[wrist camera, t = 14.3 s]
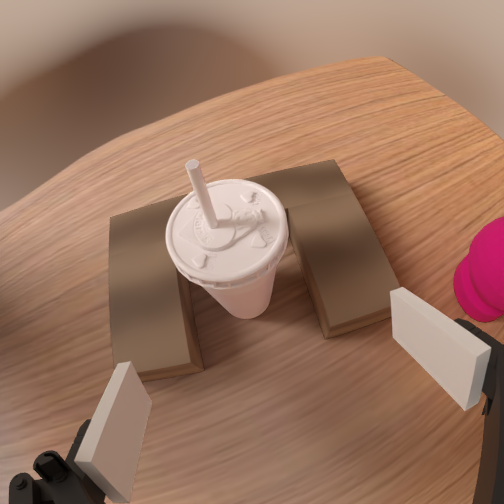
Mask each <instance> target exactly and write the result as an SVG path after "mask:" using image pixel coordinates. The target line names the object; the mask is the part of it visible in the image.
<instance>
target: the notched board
mask: <svg viewBox="0 0 504 504" xmlns="http://www.w3.org/2000/svg"><path fill="white" fill-rule="evenodd" d="M242 180H247V181H251V182H255V183H257V184H260V185H262V186H264V187H265V188H267V189H268V190H270V191H271V192H272V193H273V194H274V195H275V196H276V197H277V198H278V199H279V200H280V202H281V204H282V205H283V207H284V210H285V213H286V217H287V224H288V231H289V237H290V240H291V243H292V245H293V248H294V251H295V254H296V256H297V259H298V262H299V265H300V268H301V271H302V273H303V276H304V279H305V282H306V285H307V288H308V291H309V294H310V296H311V299H312V302H313V305H314V308H315V311H316V314H317V317H318V320H319V323H320V326H321V329H322V332H323V335H324V338H325V339H329V338H332V337H335V336H338V335H341V334H344V333H347V332H350V331H353V330H356V329H359V328H362V327H365V326H368V325H370V324H373V323H376V322H379V321H382V320H384V319H387V318H390V317H392V313H391V298H390V291H392V290H395V289H398V288H401V287H400V285H399V282H398V280H397V278H396V276H395V274H394V271H393V269H392V267H391V265H390V263H389V261H388V259H387V256H386V254H385V252H384V250H383V248H382V246H381V244H380V242H379V240H378V238H377V236H376V234H375V232H374V230H373V228H372V226H371V224H370V222H369V220H368V219H367V217H366V215H365V213H364V211H363V209H362V207H361V205H360V204H359V202H358V200H357V198H356V196H355V195H354V193H353V191H352V189H351V187H350V186H349V184H348V182H347V180H346V179H345V177H344V175H343V173H342V172H341V170H340V168H339V167H338V165H337V163H336V162H335V160H334V159H333V160H328V161H323V162H318V163H313V164H308V165H304V166H299V167H294V168H290V169H285V170H281V171H276V172H272V173H267V174H263V175H259V176H255V177H251V178H246V179H242ZM187 195H188V194H186V195H182V196H179V197H175V198H172V199H168V200H165V201H161V202H158V203H155V204H151V205H148V206H145V207H142V208H138V209H135V210H132V211H129V212H126V213H123V214H119V215H116V216H113V217H110V231H109V307H110V327H111V341H112V353H113V364H114V370H115V368H116V366H117V364H118V363H124V362H129V361H131V362H132V364H133V366H134V368H135V370H136V372H137V374H138V376H139V378H140V380H141V382H146V381H153V380H159V379H165V378H170V377H176V376H181V375H186V374H192V373H197V372H201V371H204V367H203V362H202V357H201V352H200V346H199V341H198V336H197V330H196V325H195V319H194V313H193V308H192V302H191V296H190V289H189V283H188V279H187V278H186V277H185V276H184V275H183V274H182V273H180V272H179V271H178V269H177V267H176V265H175V264H174V262H173V260H172V258H171V256H170V254H169V252H168V249H167V245H166V227H167V223H168V220H169V218H170V216H171V214H172V212H173V210H174V209H175V207H176V206H177V205H178V204H179V203H180V201H181V200H182V199H183V198H185V197H186V196H187Z"/></svg>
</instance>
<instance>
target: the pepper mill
mask: <svg viewBox="0 0 504 504" xmlns="http://www.w3.org/2000/svg"><path fill="white" fill-rule="evenodd" d="M454 290H455V294H456V297H457V300H458V302H459V304H460V306H461V307H462V308H463V310H464V311H465V313H467V314H468V315H469V316H470V317H471V318H473V319H475V320H477V321H480V322H490V321H493V320H495V319H497V318H498V317H500V316H501V315H503V314H504V217H501V218H498V219H495V220H494V221H492V222H490V223H489V224H487V225H486V226H484V227H483V229H482V230H481V231H480V232H479V233H478V234H477V235H476V236H475V237H474V239H473V241H472V243H471V246H470V249H469V254H468V255H467V256H466V257H465V258H464V259H463V260H462V261H461V263H460V264H459V265H458V267H457V268H456V271H455V274H454Z"/></svg>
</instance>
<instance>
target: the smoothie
mask: <svg viewBox="0 0 504 504" xmlns="http://www.w3.org/2000/svg"><path fill="white" fill-rule="evenodd" d="M185 166H186V169H187V172H188V175H189V178H190V180H191V183H192V186H193V188H194V191H192V192H191V193H189V194H188V195H187V196H186V197H185V198H183V199H182V200H181V201H180V203H179V204H178V205H177V206H176V207H175V209H174V210H173V212H172V214H171V216H170V218H169V220H168V223H167V227H166V245H167V249H168V252H169V254H170V256H171V258H172V260H173V262H174V264H175V265H176V267H177V269H178V271H179V272H180V273H182V274H183V275H184V276H185V277H186V278H187V279H188V280H189V281H191V282H193V283H196V284H198V285H200V286H202V287H203V288H204V289H205V290H206V291H207V292H208V293H209V294H210V295H211V296H213V297H214V298H215V299H216V300H217V301H218V302H219V303H220V304H221V305H222V306H223V307H224V308H225V309H226V310H227V311H228V312H229V313H230V314H231V315H233V316H235V317H237V318H240V319H251V318H255V317H257V316H259V315H260V314H262V313H263V312H264V311H265V310H266V309H267V307H268V305H269V303H270V299H271V294H272V289H273V284H274V279H275V274H276V269H277V264H278V263H279V262H280V260H281V258H282V256H283V254H284V252H285V250H286V248H287V242H288V236H289V231H288V224H287V217H286V213H285V210H284V207H283V205H282V204H281V202H280V200H279V199H278V198H277V197H276V196H275V195H274V194H273V193H272V192H271V191H270V190H268V189H267V188H265V187H264V186H262V185H260V184H257V183H255V182H251V181H247V180H241V179H226V180H219V181H215V182H211V183H208V184H205V180H204V177H203V174H202V171H201V168H200V165H199V162H198V161H197V160H190V161H188V162H187V163H186V165H185Z"/></svg>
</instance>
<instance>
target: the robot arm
mask: <svg viewBox="0 0 504 504" xmlns="http://www.w3.org/2000/svg"><path fill="white" fill-rule="evenodd" d="M390 298H391V313H392V333H393V338H394V339H395V340H396V341H397V342H398V343H399V344H400V345H401V346H402V347H403V348H404V349H405V350H406V351H407V352H408V353H409V354H410V355H411V356H412V357H413V358H414V359H415V360H416V361H417V362H418V363H419V364H420V365H421V366H422V367H423V368H424V369H425V370H426V371H427V372H428V373H429V374H430V375H431V376H432V377H433V378H434V379H435V380H436V382H437V383H438V384H439V385H440V386H441V387H442V388H443V389H444V390H445V391H446V392H447V393H448V394H449V395H450V396H451V397H452V398H453V399H454V400H455V401H456V402H457V403H458V404H459V405H460V406H461V408H462V409H463V410H464V411H466V410H468V409H470V408H471V407H473V406H474V405H476V404H477V403H479V400H480V397H481V393H482V392H483V393H484V394H485V395H486V396H487V399H486V402H485V406H484V409H483V412H482V415H484V414H485V421H484V434H483V444H482V452H481V460H480V467H479V473H478V479H477V484H476V489H475V494H474V499H473V503H472V504H504V345H503V344H501V343H500V342H498V341H497V340H495V339H494V338H492V337H491V336H490V335H488V334H487V333H485V332H484V331H483V332H482V330H481V329H479V328H478V327H477V328H476V326H475V325H473V324H472V323H470V322H469V321H466V320H462V319H459V318H458V319H456V320H454V321H453V320H452V319H450V318H449V317H447V316H446V315H444V314H443V313H441V312H440V311H438V310H437V309H435V308H434V307H432V306H431V305H429V304H428V303H426V302H425V301H423V300H422V299H420V298H419V297H417V296H416V295H414V294H413V293H411V292H410V291H408V290H407V289H405V288H404V287H401V288H398V289H395V290H392V291H390ZM151 406H152V401H151V399H150V397H149V395H148V394H147V392H146V390H145V388H144V386H143V384H142V382H141V380H140V378H139V376H138V374H137V372H136V370H135V368H134V366H133V364H132V362H131V361H129V362H124V363H118V364H117V366H116V368H115V370H114V372H113V375H112V377H111V379H110V381H109V383H108V385H107V387H106V389H105V391H104V394H103V396H102V398H101V400H100V402H99V404H98V407H97V409H96V411H95V413H94V415H93V418H92V419H89V420H86V421H85V423H84V424H83V425H82V426H81V427H80V429H79V431H78V433H77V437H76V438H75V440H74V444H72V446H71V449H70V451H69V453H68V456H67V458H66V460H65V461H64V460H63V459H62V457H61V456H60V455H59V454H58V453H57V452H55V451H46V452H43V453H42V454H40V455H39V456H38V457H37V458H36V459H35V461H34V464H33V469H34V470H35V471H36V472H37V473H38V474H39V475H40V477H41V478H42V479H40V480H34V479H33V478H32V477H31V476H30V475H29V474H28V473H20V474H17V475H16V476H14V477H13V479H12V480H11V482H10V486H9V504H106V503H105V502H104V499H105V495H106V496H107V497H108V498H109V499H110V500H111V501H112V502H115V503H130V500H131V495H132V490H133V485H134V480H135V475H136V470H137V466H138V461H139V457H140V452H141V448H142V443H143V439H144V435H145V431H146V426H147V422H148V418H149V414H150V410H151Z"/></svg>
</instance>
